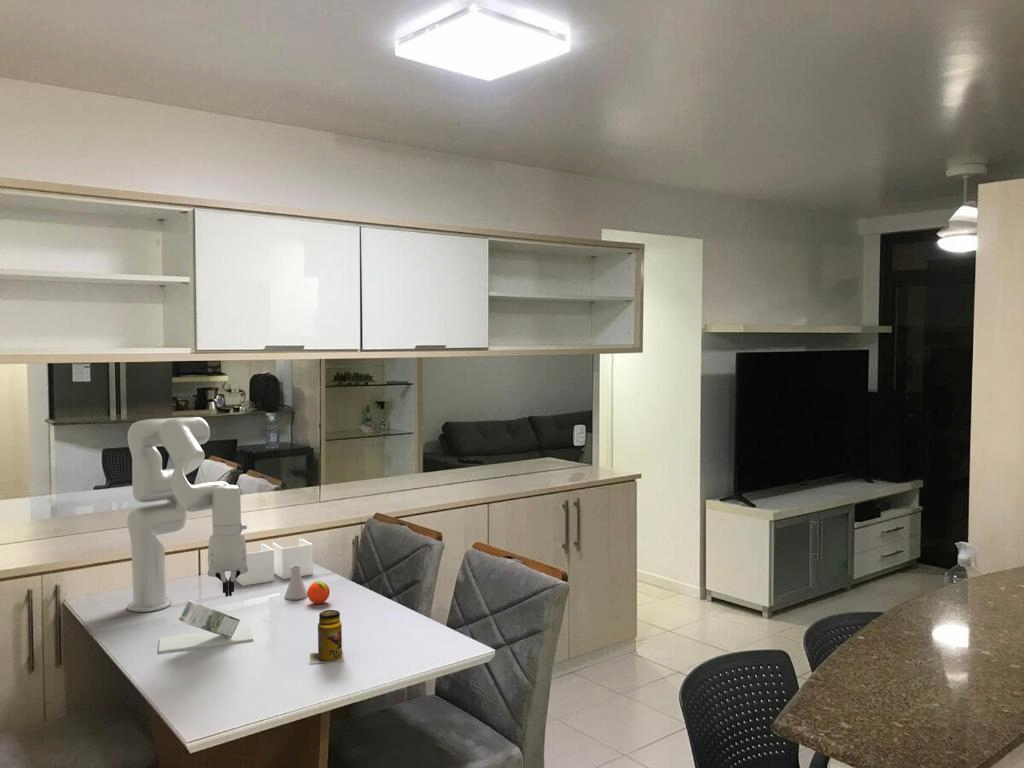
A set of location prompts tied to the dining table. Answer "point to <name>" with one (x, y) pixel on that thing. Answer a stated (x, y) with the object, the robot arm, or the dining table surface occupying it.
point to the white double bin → (277, 562)
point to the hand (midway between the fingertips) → (228, 595)
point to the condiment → (328, 638)
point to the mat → (203, 640)
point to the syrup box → (209, 619)
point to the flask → (296, 585)
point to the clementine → (318, 592)
